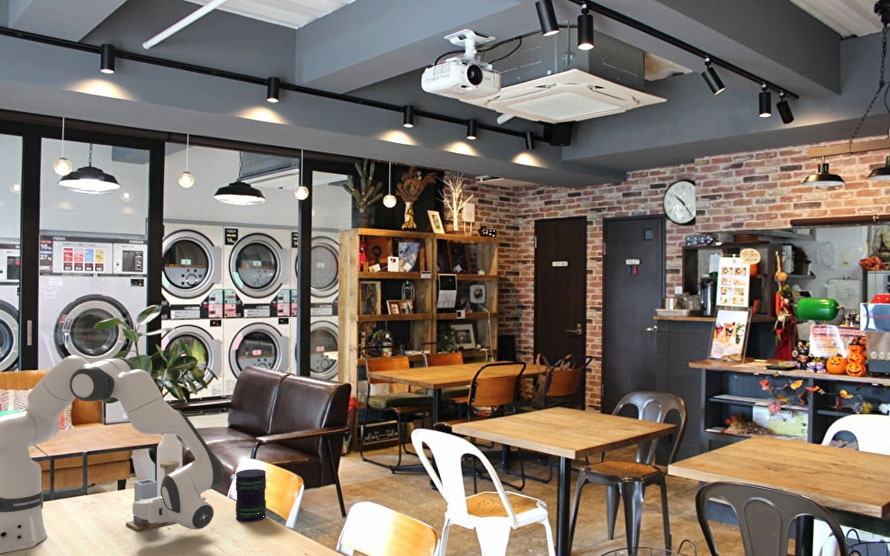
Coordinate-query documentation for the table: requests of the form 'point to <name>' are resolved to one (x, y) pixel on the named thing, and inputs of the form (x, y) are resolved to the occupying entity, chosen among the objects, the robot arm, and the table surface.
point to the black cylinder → (250, 495)
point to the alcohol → (167, 455)
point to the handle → (169, 466)
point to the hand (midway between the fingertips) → (156, 498)
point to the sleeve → (144, 496)
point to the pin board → (145, 527)
